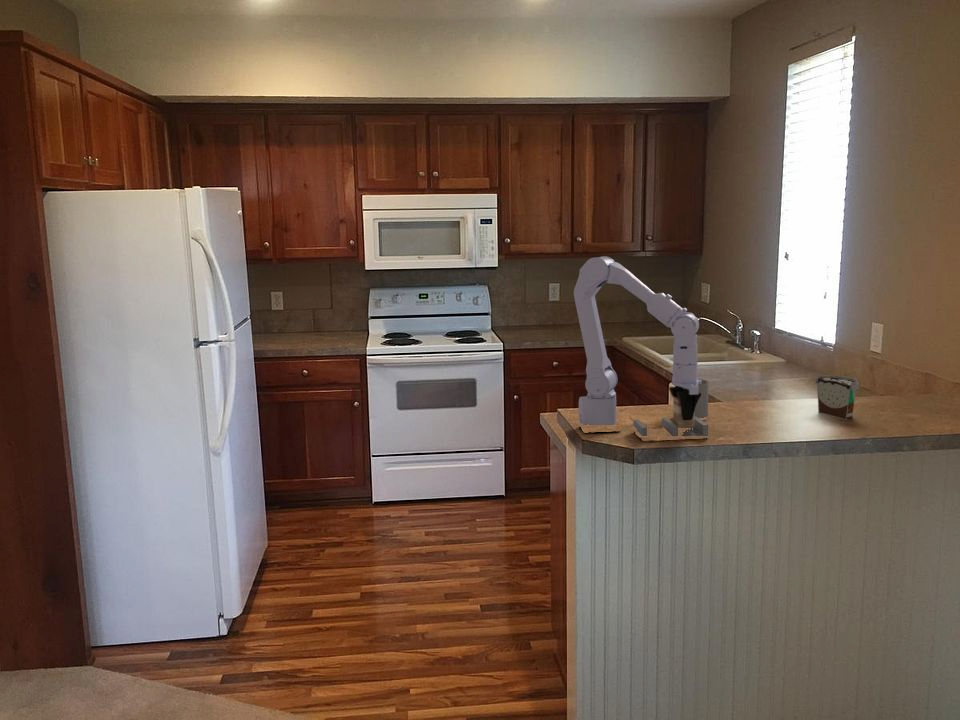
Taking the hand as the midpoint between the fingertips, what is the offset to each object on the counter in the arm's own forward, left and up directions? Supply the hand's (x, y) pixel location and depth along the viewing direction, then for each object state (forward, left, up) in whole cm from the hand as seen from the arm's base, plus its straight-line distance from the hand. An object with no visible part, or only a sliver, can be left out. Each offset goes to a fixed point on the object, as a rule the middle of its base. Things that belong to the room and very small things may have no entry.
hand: (684, 417), depth 191 cm
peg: (0, 0, -2) cm, 2 cm away
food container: (+46, +13, -5) cm, 48 cm away
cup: (+7, +17, -5) cm, 19 cm away
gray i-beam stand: (-4, 0, -4) cm, 6 cm away
